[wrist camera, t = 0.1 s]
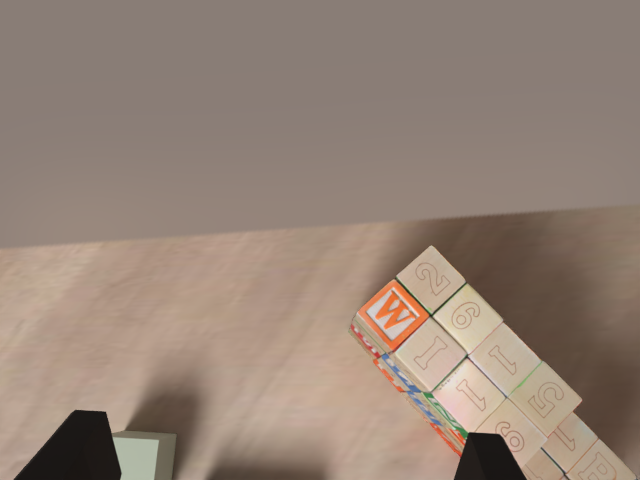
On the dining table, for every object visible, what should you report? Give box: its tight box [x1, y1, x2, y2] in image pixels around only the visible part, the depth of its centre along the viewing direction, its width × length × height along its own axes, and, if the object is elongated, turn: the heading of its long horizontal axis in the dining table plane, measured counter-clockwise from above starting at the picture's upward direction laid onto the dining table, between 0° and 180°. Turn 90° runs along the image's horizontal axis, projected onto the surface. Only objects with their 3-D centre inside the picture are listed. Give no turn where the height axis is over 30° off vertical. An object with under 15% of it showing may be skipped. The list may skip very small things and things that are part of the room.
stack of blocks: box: [348, 245, 638, 480], centre depth 36 cm, size 21×6×12 cm, turn 42°
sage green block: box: [112, 431, 177, 480], centre depth 39 cm, size 4×4×5 cm
